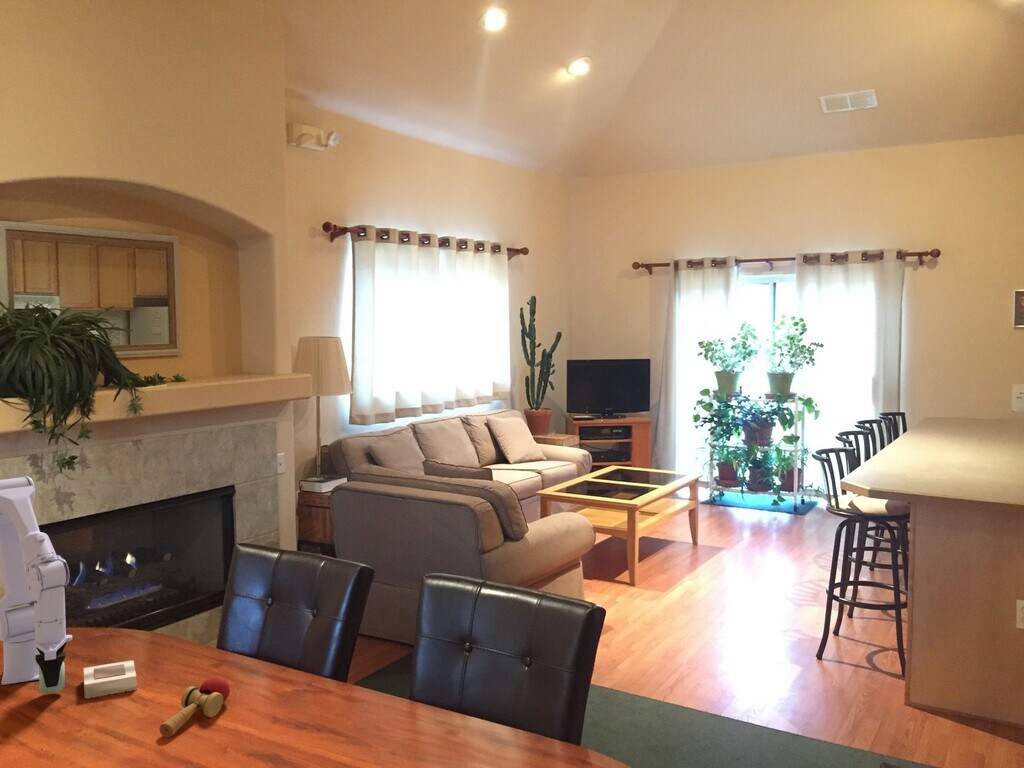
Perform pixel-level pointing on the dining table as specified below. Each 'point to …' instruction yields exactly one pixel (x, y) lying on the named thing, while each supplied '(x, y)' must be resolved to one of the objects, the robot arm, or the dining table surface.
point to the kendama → (198, 703)
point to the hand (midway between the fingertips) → (52, 681)
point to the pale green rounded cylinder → (56, 688)
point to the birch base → (109, 679)
